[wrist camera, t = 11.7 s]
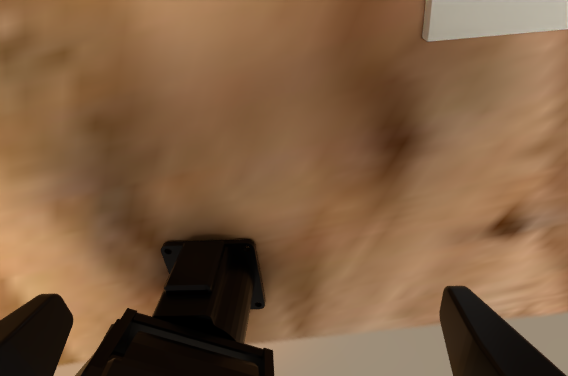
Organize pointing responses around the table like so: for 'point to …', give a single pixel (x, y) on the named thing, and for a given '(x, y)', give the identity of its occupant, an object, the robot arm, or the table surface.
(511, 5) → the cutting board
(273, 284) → the table surface
